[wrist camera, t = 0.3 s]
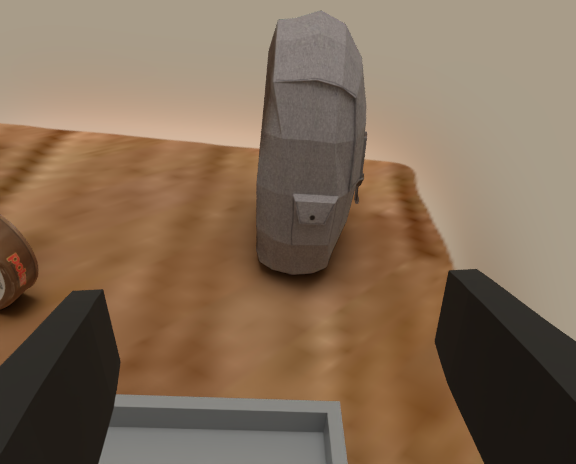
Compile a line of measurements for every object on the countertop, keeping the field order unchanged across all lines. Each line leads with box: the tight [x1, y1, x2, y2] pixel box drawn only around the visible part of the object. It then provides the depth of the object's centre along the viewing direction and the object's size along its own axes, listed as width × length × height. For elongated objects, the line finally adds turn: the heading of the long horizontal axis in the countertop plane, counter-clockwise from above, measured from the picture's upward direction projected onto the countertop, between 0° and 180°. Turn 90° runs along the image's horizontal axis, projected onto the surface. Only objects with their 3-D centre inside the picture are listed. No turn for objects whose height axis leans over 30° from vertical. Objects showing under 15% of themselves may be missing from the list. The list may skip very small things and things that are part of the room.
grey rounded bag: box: [256, 11, 367, 275], centre depth 42 cm, size 15×8×20 cm, turn 178°
